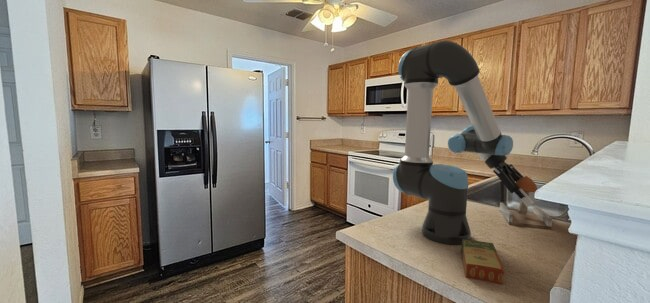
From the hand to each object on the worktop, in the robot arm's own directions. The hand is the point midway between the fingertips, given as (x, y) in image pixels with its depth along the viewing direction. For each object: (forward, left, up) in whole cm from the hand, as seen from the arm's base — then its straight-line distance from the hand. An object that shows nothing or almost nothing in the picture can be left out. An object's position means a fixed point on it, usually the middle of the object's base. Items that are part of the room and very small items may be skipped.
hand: (534, 202), depth 107 cm
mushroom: (-3, +2, -5) cm, 6 cm away
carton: (-24, -43, -8) cm, 50 cm away
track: (-3, +2, -8) cm, 8 cm away
